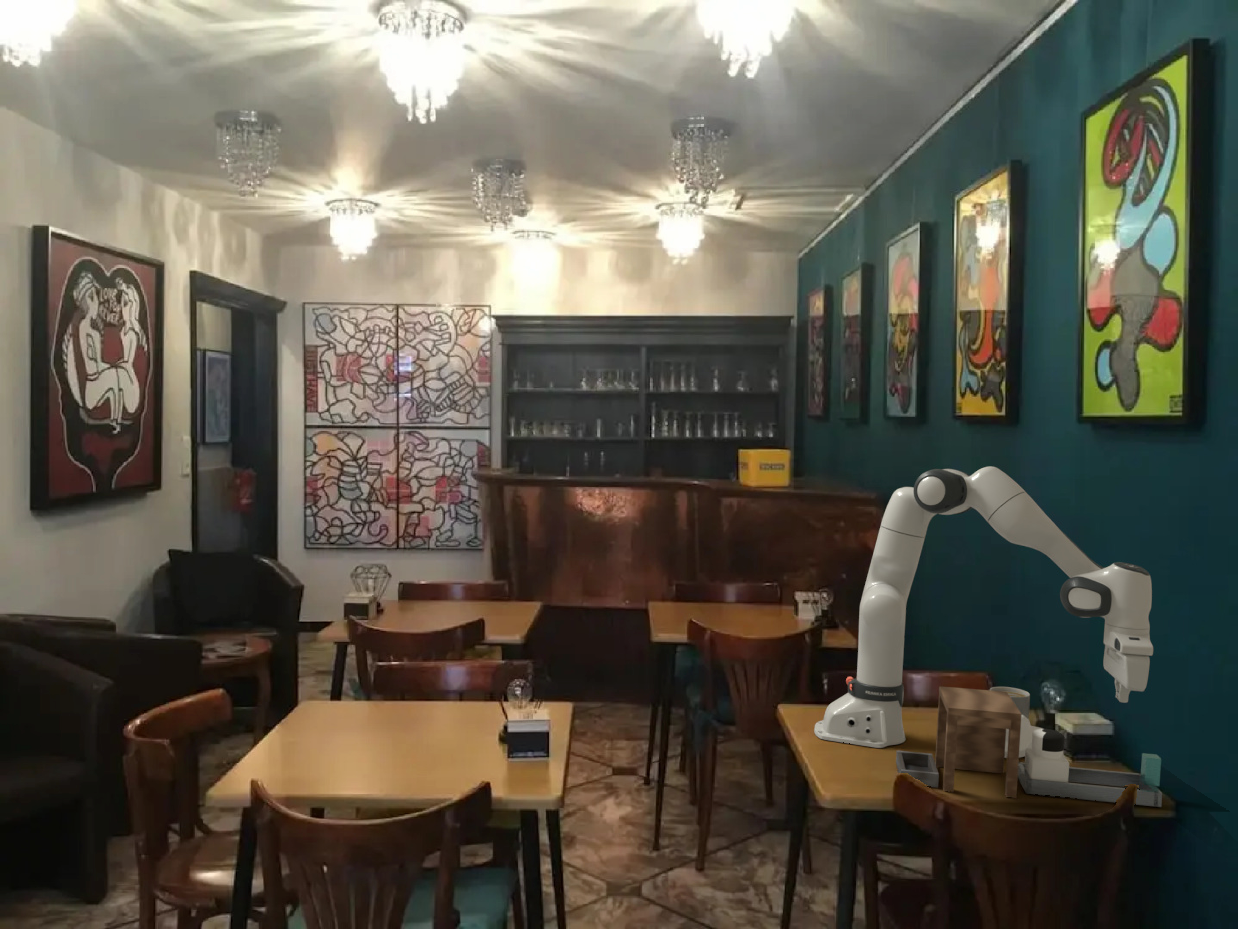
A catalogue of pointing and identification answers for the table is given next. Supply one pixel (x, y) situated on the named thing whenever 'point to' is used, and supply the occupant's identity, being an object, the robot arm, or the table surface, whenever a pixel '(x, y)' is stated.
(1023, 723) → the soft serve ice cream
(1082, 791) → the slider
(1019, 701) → the coffee mug
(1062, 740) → the container
